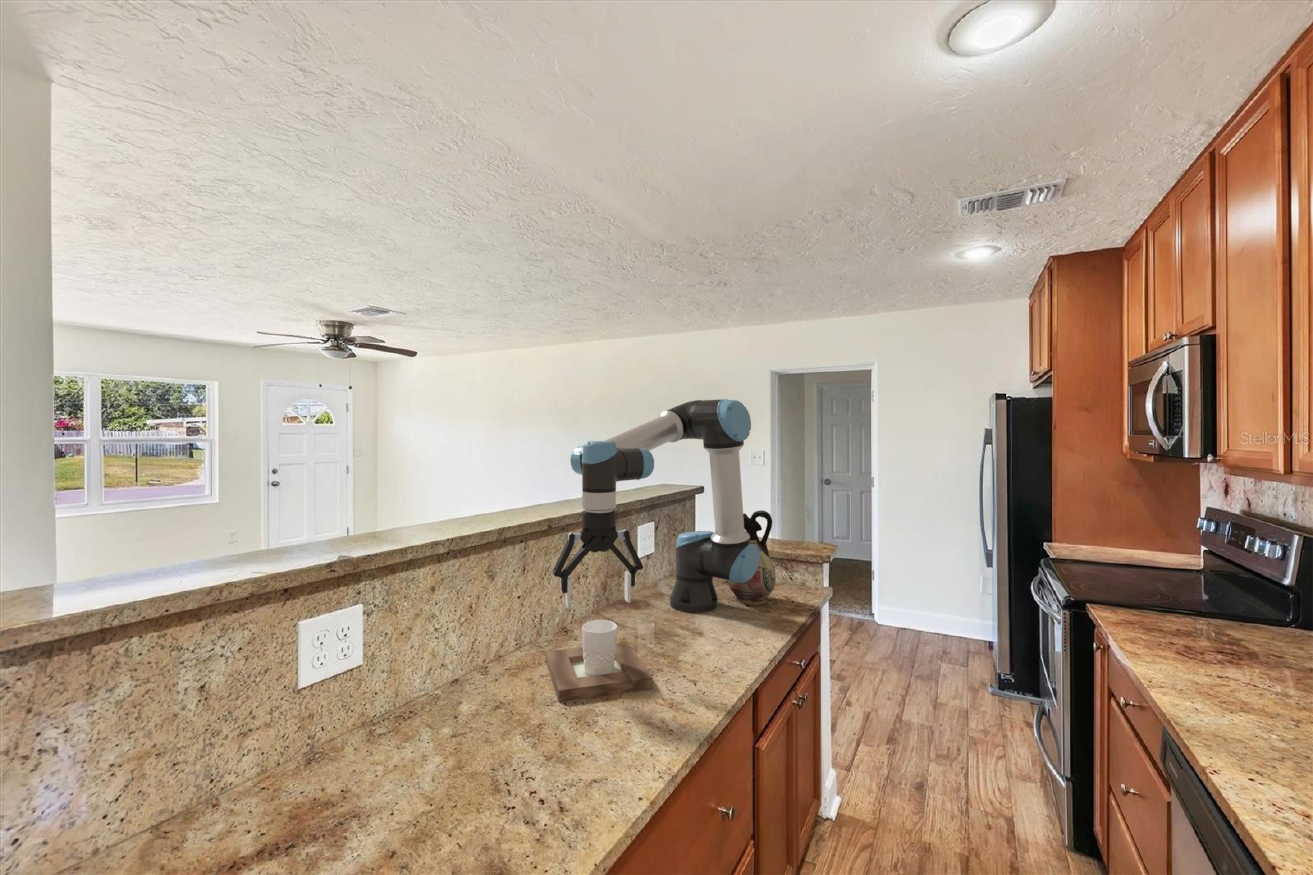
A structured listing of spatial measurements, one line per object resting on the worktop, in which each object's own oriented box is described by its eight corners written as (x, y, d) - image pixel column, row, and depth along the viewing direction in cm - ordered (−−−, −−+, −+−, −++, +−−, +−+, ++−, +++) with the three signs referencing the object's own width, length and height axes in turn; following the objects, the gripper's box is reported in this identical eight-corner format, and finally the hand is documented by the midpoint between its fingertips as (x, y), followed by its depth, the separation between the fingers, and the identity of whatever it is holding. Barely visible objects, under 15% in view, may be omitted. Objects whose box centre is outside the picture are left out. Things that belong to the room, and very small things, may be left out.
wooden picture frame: (627, 652, 137) (627, 642, 137) (652, 688, 118) (652, 677, 118) (545, 661, 131) (545, 651, 130) (558, 702, 112) (558, 690, 112)
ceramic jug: (723, 606, 174) (725, 511, 173) (731, 592, 188) (732, 504, 188) (778, 612, 169) (780, 514, 168) (781, 597, 183) (784, 507, 183)
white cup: (599, 681, 119) (600, 635, 119) (573, 671, 124) (574, 626, 124) (623, 669, 125) (624, 625, 125) (598, 659, 130) (598, 617, 130)
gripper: (646, 505, 131) (646, 593, 132) (540, 509, 123) (540, 603, 124) (657, 510, 124) (656, 603, 125) (544, 515, 116) (544, 615, 117)
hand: (598, 603), depth 124 cm, fingers open, 13 cm apart
